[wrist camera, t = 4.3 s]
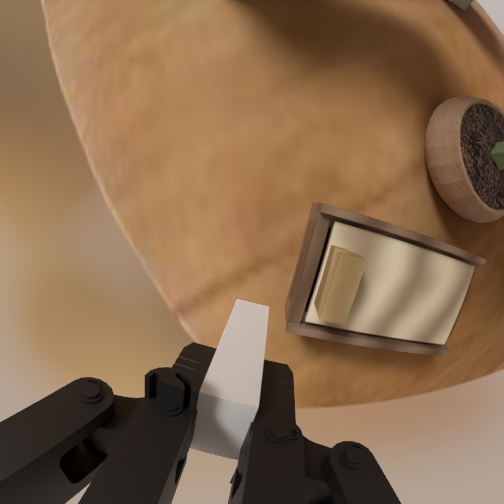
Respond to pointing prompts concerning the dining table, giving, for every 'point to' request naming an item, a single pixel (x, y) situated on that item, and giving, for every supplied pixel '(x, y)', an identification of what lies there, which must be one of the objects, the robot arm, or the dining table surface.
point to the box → (310, 269)
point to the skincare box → (461, 3)
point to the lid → (387, 287)
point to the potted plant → (468, 157)
